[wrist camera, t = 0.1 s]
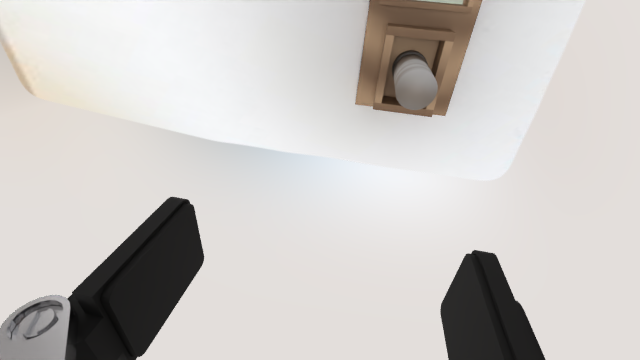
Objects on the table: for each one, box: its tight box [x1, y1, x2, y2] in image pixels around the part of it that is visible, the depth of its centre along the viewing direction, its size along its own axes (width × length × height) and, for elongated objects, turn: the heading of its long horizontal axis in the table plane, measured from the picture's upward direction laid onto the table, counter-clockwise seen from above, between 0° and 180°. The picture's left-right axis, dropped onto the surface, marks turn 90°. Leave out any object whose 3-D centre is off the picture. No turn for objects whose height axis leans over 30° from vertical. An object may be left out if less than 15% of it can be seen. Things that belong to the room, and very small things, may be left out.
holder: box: [355, 0, 482, 117], centre depth 28 cm, size 21×11×10 cm, turn 176°
